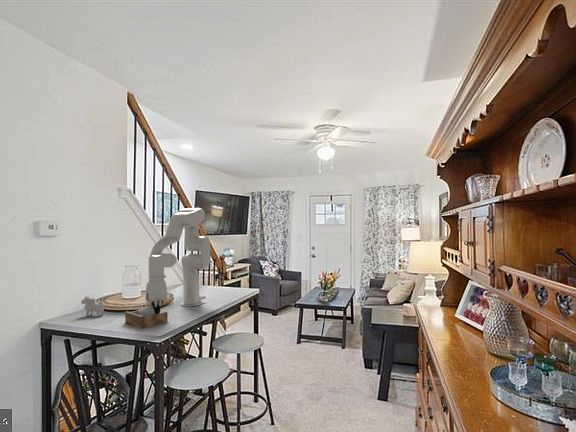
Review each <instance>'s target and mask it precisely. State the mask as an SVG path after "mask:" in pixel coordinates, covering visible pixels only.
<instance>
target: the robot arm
mask: <svg viewBox="0 0 576 432" xmlns="http://www.w3.org/2000/svg"><path fill="white" fill-rule="evenodd" d="M205 218H206V213H205V210H204V209H203V208H200V207H195V208H193V207H189V208H188V207H187V208H185V207H184V208H181V209H179V210H177V212H176V213H173V214H172V215H171V217H170V220H169V222H168V226H167V228H166V231H165V233H164V236H162V237H161V238H160V239H159V240H158V241H157V242H156V243H155V244H154V245H153V247H152V250H151V252H150V254H149V256H148V282H146V285H145V294H144V295H145V301H146V305H150V306H152V307H153V309H154V312H155V314H159V313H161V307H162V304H163V303H164V302H166V301H167V300H168V299H167V298H168V287H167V283H166V279H167V275H165V268H172V267H174V266H175V265H176V263H177V257H176V255H175V254H173V253H165V252H164V253H162V252H163V251H164V250H165V249H166V248H167V247H170V246H172V245H173V244H176V243H177V242H179V241H180V240H181V237H182V234H183V231H184V249H185V250H186V251H187V252H199V253H186V254H184V255H183V256H182V257H181V267H182V275H183V276H182V278H183V279H182V280H183V281H182V284H183V288H182V289H183V293H182V294H183V295H182V296H183V301H182V302H181V303H180V306H182V307H185V308H187V307H196V306H201V305H202V304H203V302H202V301H203V300H206V298H207V296H206V295H203V296H201V295H200V274H199V272H198V270H205V269H208V268H209V267H210V263H211V240H210V239H209V237H208V236H205V235H201V236H200V232H199V231H200V230H199V226H198V225H199V224H200V223H202V222H203V221H204V220H205Z"/></svg>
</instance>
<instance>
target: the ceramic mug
mask: <svg viewBox="0 0 576 432" xmlns="http://www.w3.org/2000/svg"><path fill="white" fill-rule="evenodd" d="M134 313H135V314H138V315H141V316H144V317H146V316H150V315H155V312H154V309H153V306H152V305H149V306H145V307H143V308H139V309H137V310H135V312H134Z"/></svg>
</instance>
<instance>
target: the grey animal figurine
mask: <svg viewBox="0 0 576 432" xmlns="http://www.w3.org/2000/svg"><path fill="white" fill-rule="evenodd" d="M80 303H81V304H82V305H83V304H84V310H85V313H86V314H85V317H90V315H93V314H94V312H96V317H98V318H99V316H102V315H103V316H104V310H105V309H104V308H105V303H103V302H102V301H98V302H97V301H96V299H95V298H92V296H90V295H88V296H84V299H83V298H82V299H81V300H80ZM89 314H90V315H89Z"/></svg>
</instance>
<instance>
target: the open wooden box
mask: <svg viewBox="0 0 576 432" xmlns="http://www.w3.org/2000/svg"><path fill="white" fill-rule="evenodd" d="M135 311H136V310H135ZM135 311H127V310H126V311H125V312H124V315H125V317H124V321H125V324H127V325H130V326H133V327H135V328H138V329H146V328H149V327H153V326H154V327H155V326H157V325H161V324H165V323H166V324H167V323H168V312H167V311H163V312H160V313H159V314H155V315H150V316H146V317H144V316H141V315H138V314H135V313H134V312H135ZM145 327H146V328H145Z"/></svg>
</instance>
